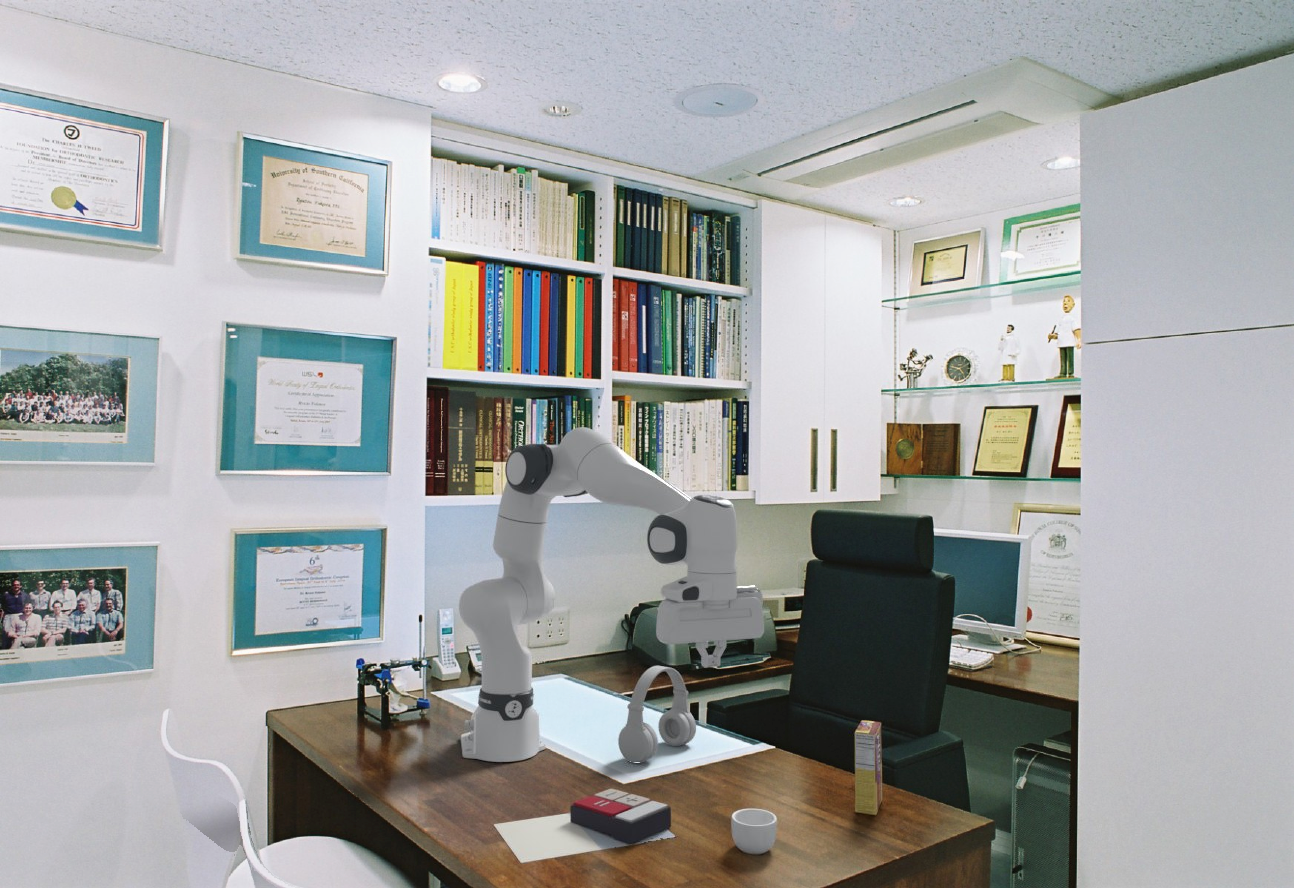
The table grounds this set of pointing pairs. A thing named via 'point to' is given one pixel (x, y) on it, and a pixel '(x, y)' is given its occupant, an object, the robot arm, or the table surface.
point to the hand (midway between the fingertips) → (710, 666)
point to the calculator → (621, 815)
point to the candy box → (868, 767)
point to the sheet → (558, 838)
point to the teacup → (754, 830)
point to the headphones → (673, 725)
